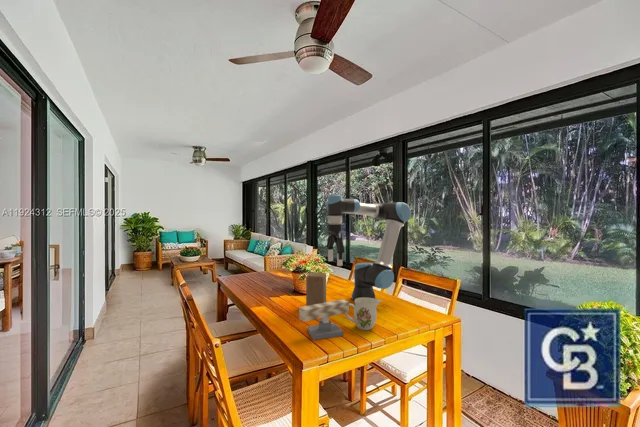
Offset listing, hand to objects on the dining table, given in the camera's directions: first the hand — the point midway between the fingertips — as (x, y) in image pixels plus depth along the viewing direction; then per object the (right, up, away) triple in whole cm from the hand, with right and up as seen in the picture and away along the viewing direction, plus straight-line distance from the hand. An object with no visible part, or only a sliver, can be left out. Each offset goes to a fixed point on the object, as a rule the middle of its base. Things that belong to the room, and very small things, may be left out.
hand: (335, 263), depth 157 cm
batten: (-6, -20, -21) cm, 30 cm away
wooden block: (-10, -29, +12) cm, 33 cm away
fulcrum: (-6, -29, -21) cm, 36 cm away
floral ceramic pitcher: (+13, -29, -14) cm, 35 cm away
